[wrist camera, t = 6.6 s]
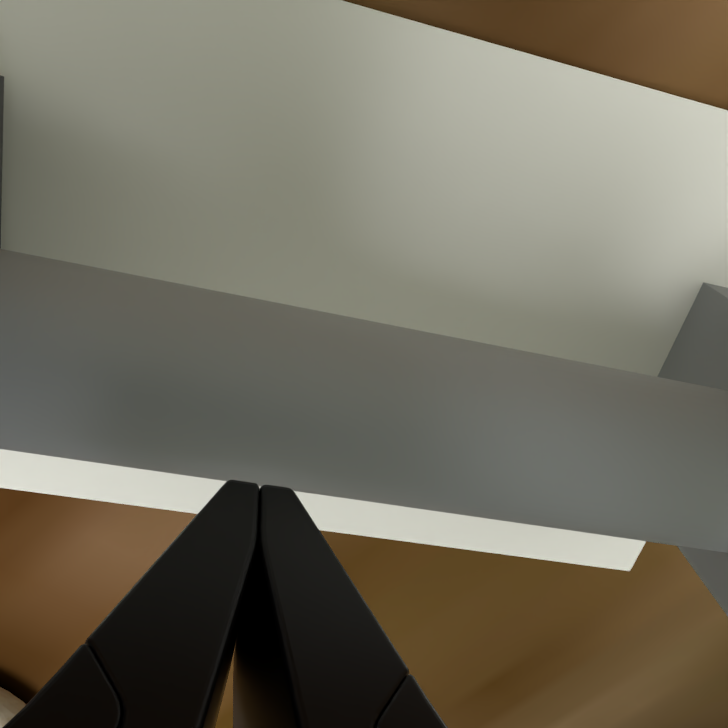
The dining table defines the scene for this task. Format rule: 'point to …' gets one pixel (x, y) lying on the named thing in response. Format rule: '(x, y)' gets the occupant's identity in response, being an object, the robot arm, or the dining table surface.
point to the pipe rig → (362, 279)
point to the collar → (1, 141)
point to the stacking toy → (8, 706)
